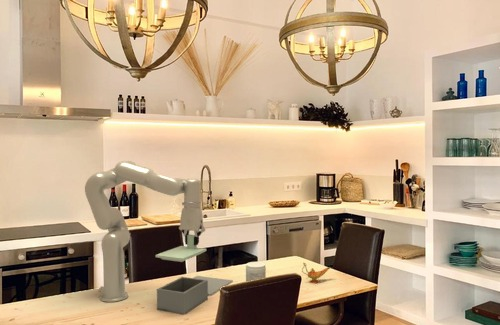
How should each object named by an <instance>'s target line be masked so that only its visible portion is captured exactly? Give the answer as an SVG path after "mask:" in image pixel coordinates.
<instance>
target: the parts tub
mask: <svg viewBox="0 0 500 325" xmlns="http://www.w3.org/2000/svg"><path fill="white" fill-rule="evenodd" d="M208 300H209V295H208V280H202V279H195V278H194V277H186V276H181V277H178V278H177V279H174V280H173V281H171V282H169V283H167V284H165V285H162V286H161V287H158V288H157V289H156V310H157V311H160V312H161V311H162V312H168V313H174V314H179V315H184V316H185V315H187V313H189V312H191V311H192V310H194V309H195V308H197V307H198V306H200V305H201V304H203V303H205V302H206V301H208Z"/></svg>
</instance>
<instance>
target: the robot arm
mask: <svg viewBox="0 0 500 325" xmlns="http://www.w3.org/2000/svg"><path fill="white" fill-rule="evenodd" d="M125 182H130V183H134V184H137V185H140V186H143V187H145V188H147V189H149V190H152V191H155V192H158V193H161V194H164V195H167V196H173V197H175V196H177V195H182V194H183V202H182V203H181V206H183V207H182V209H181V212H180V213H181V214H180V219H179V220H180V222H179V224H180V225H179V227H178V229H179V230H180V232H181V233H182V234H183V236H184V244H185V245H186V246H187V235H189V234H190V231H193V232H194V235H195V237H194V245H195V246H196V245H198V246H199V243H200V237H201V235H202V234H203V233H205V232H206V228H205V226H204V218H203V210H202V208H201V181H200V179H198V178H187V179H185V178H176V177H175V178H171V177H166V176H164V175H161V174H158V173H157V172H155V171H154V170H153V169H151V168H149V167H148V168H147V167H145V166H142V165H139V164H136V163H135V162H133V161H131V160H123V161H120V162H118V163H116V165H115V166H114V168H111V169H109V170H107V171H99V172H96V173H94V174H92V175H91V176H90V177H88V179H87V181H86V182H85V184H84V185H85V186H84V193H85V197H86V199H87V202H88V205H89V207H90V210H91V213H92V216H93V218H94V220H95V221H94V222H95V223H96V225H97V227H98V229H100V230H101V231H102V230H103V231H108V232H107V233H106V234H105V235H104V236H103V237H102V238H101V239H102V240H101V242H100V244H101V245H100V246H101V252H102V262H103V263H102V266H103V285H102V286H100V287H99V288H98V289H97V290H98V292H99V293H101V295H100V299H99V300H101V301H102V302H105V303H115V302H120V301H124V300H126V299H127V298H128V297H129V293H128V292H127V291H126V279H125V278H126V277H125V276H126V273H125V271H126V270H125V264H126V263H125V253H124V247H126V246H127V245H128V244H129V243H130V239H131V235H130V231H129V228H128V224H127V223H126V220H125V217H124V215H123V214H122V212H121V211H120V209H118V208H116V207H112V206H111V204H110V201H109V198H108V197H107V194H105V190H109V189H112V188H114V187H117V186H119V185H122V184H123V183H125Z"/></svg>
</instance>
